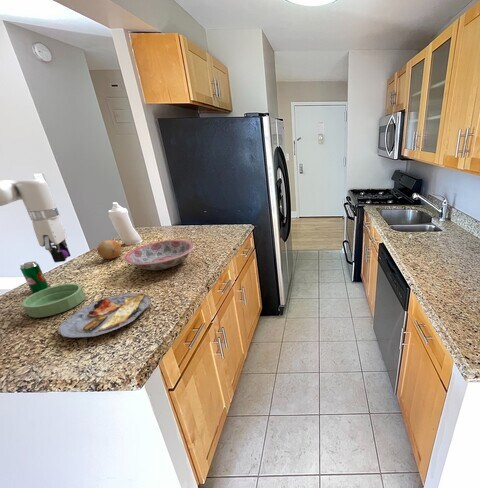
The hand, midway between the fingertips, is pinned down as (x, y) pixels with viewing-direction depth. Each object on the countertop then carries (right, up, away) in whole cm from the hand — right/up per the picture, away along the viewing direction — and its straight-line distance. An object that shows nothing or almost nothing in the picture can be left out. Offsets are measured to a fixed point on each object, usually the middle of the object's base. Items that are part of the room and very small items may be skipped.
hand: (62, 258), depth 102 cm
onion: (-9, -2, +35) cm, 36 cm away
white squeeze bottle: (-15, +6, +55) cm, 57 cm away
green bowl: (+2, -17, -4) cm, 18 cm away
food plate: (+28, -20, -11) cm, 36 cm away
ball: (0, +2, -1) cm, 2 cm away
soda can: (-16, -13, +7) cm, 22 cm away
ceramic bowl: (+23, -5, +27) cm, 36 cm away
